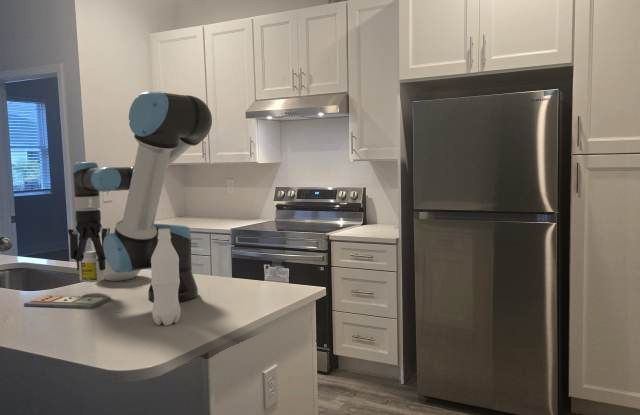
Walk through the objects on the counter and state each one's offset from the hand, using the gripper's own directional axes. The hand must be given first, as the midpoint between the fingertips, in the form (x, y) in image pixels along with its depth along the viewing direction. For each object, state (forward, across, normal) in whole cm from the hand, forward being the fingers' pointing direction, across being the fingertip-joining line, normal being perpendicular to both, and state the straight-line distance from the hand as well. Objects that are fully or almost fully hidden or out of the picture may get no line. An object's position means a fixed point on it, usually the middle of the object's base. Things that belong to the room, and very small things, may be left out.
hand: (91, 279), depth 176 cm
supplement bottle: (+1, 0, 0) cm, 1 cm away
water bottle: (+6, -39, +30) cm, 49 cm away
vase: (+4, +3, -22) cm, 23 cm away
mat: (+4, 0, +14) cm, 14 cm away
